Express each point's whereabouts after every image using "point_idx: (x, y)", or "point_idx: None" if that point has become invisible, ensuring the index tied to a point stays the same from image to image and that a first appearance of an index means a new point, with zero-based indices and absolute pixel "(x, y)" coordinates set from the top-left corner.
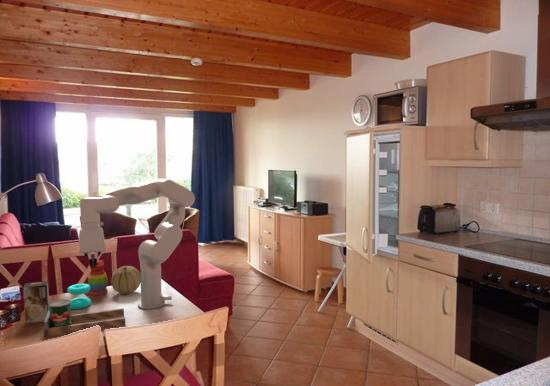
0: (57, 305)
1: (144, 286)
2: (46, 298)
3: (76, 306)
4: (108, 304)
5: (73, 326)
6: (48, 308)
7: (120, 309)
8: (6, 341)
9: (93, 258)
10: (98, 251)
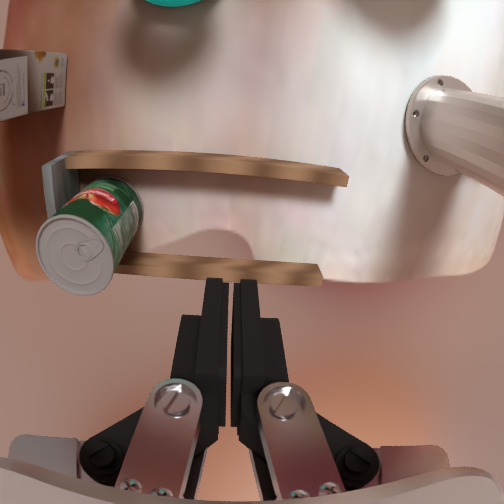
0: (70, 278)
1: (477, 168)
2: (7, 119)
3: (161, 5)
4: (307, 3)
5: (151, 274)
6: (40, 101)
7: (334, 184)
8: (6, 242)
9: (237, 403)
10: (345, 486)
